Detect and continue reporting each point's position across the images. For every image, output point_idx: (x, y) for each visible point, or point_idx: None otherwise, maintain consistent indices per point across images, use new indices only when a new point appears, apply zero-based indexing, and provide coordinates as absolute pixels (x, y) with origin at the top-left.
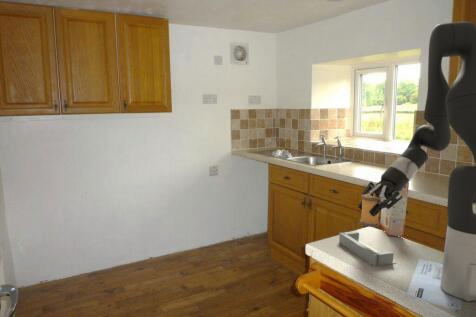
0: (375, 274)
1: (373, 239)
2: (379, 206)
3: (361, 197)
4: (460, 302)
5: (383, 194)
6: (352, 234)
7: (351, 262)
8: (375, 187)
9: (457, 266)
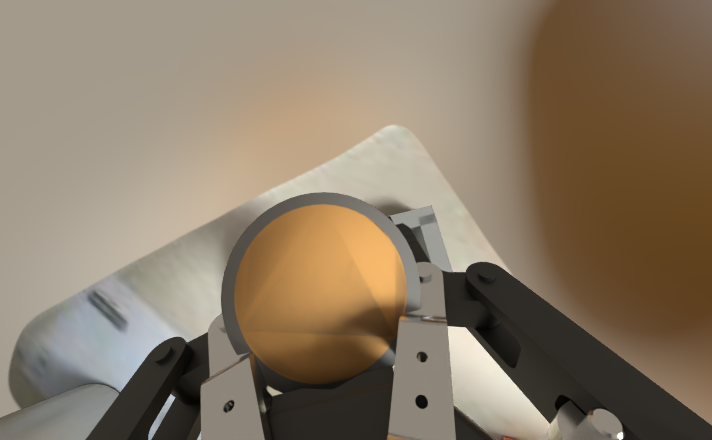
0: (209, 238)
1: (458, 351)
2: None
3: (351, 200)
4: (43, 392)
5: (202, 416)
6: (427, 252)
7: (281, 201)
8: (441, 429)
9: None
